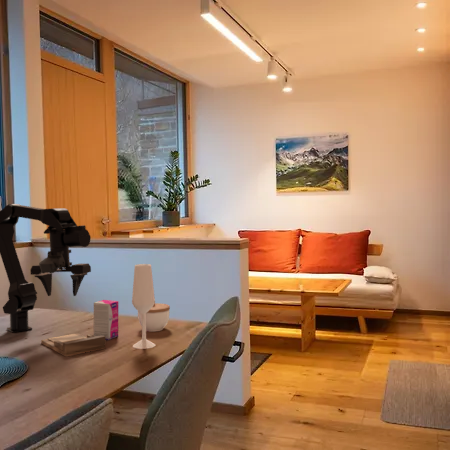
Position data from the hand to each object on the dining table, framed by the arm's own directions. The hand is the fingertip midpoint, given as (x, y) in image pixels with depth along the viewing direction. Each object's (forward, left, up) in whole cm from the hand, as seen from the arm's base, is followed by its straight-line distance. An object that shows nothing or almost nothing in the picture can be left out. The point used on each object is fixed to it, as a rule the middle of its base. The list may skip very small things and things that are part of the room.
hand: (62, 295), depth 168 cm
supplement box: (+13, +9, -13) cm, 20 cm away
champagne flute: (+29, +13, -13) cm, 34 cm away
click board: (+15, -3, -13) cm, 20 cm away
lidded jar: (+14, +26, -13) cm, 32 cm away
